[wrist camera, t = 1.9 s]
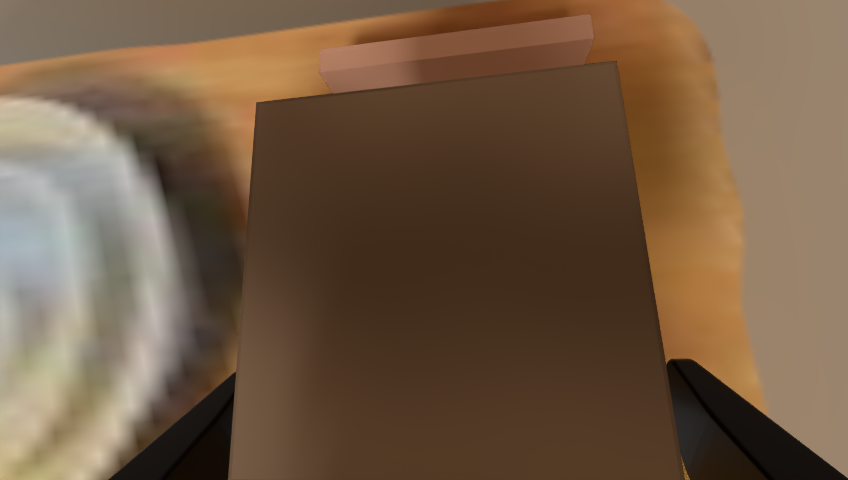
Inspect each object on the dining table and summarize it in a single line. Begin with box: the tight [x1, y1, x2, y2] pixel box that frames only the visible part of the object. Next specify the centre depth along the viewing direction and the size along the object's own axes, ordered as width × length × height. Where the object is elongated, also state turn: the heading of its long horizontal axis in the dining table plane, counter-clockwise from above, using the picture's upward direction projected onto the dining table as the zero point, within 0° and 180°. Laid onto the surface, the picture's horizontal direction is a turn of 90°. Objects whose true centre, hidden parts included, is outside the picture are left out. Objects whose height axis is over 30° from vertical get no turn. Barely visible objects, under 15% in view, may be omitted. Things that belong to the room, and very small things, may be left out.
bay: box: [319, 14, 594, 94], centre depth 18 cm, size 19×12×4 cm, turn 2°
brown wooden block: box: [228, 61, 685, 480], centre depth 12 cm, size 6×6×13 cm
